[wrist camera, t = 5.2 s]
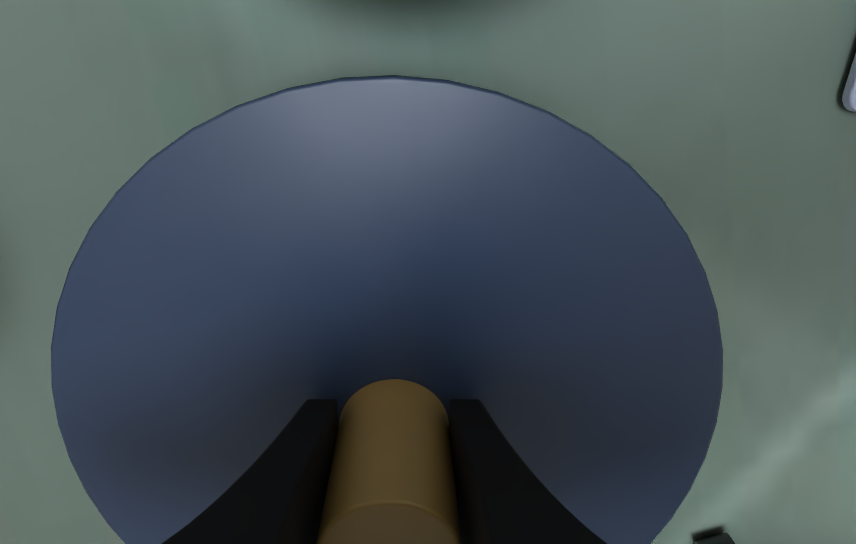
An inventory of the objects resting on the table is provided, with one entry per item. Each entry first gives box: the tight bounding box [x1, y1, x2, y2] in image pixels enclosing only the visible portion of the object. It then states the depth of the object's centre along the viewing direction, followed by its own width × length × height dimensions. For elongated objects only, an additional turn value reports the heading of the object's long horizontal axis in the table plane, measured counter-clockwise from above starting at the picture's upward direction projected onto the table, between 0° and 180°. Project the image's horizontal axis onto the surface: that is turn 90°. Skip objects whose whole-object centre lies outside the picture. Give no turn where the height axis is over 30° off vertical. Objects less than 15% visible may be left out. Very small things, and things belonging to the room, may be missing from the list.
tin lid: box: [51, 75, 723, 544], centre depth 11 cm, size 15×15×5 cm
